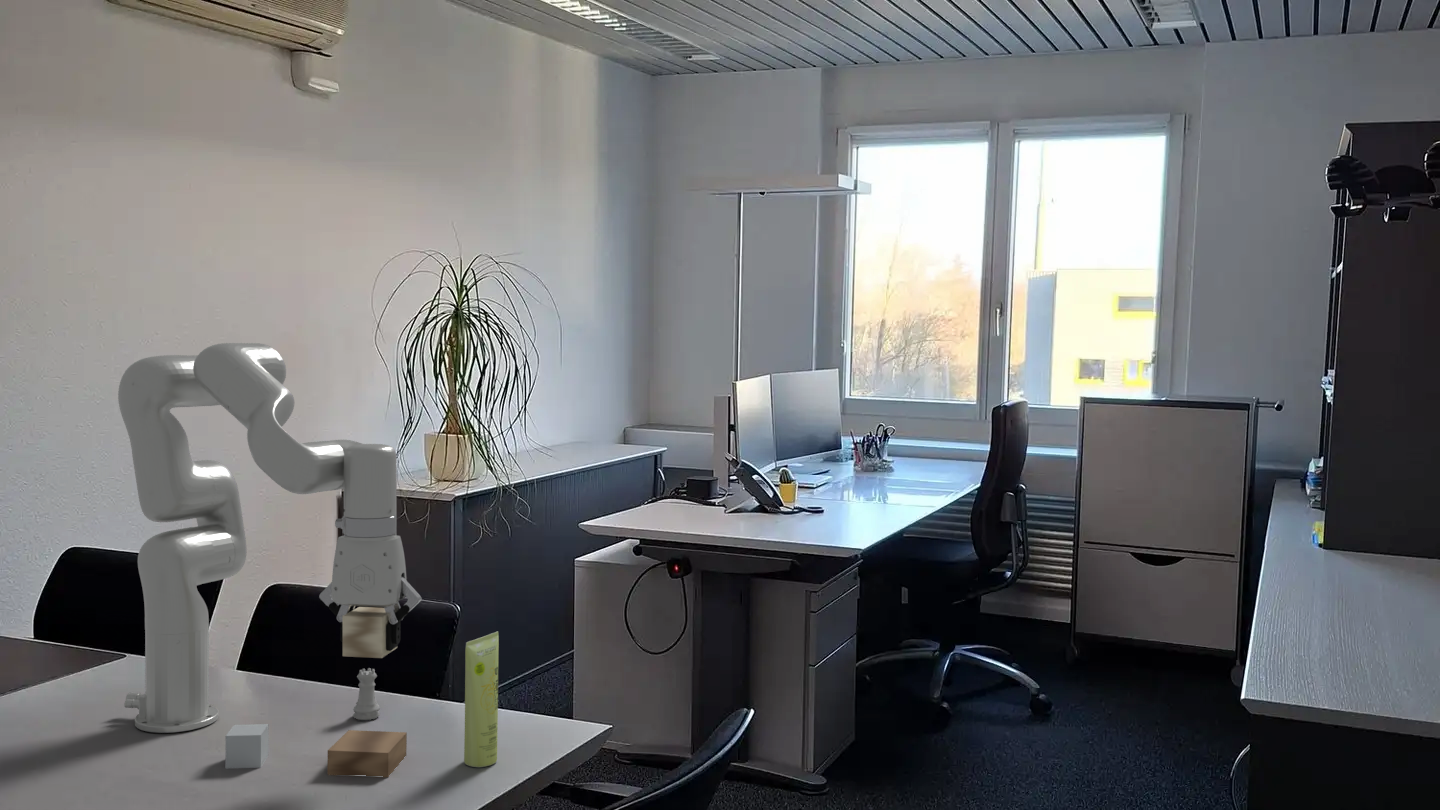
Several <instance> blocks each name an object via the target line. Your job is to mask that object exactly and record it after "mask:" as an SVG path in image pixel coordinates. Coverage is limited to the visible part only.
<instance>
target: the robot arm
mask: <svg viewBox="0 0 1440 810" xmlns="http://www.w3.org/2000/svg"><path fill="white" fill-rule="evenodd" d="M286 376H287V367H286V362H285V360H284V359H283V357H282V355H281V354H280V353H279V351H278V350H276V349H275V348H273V347H272V346H270V345H268V344H265V343H256V342H255V343H253V342H251V343H250V342H247V343H245V342H244V343H242V342H237V343H236V342H226V343H225V342H224V343H216V344H213V345H210V346H208V347H206V348H204V349H203V350H202V351H201V352H199V354H198V355H195V354H194V355H181V354H180V355H179V354H174V355H173V354H167V355H156V356H155V355H154V356H149V357H144V358H141V359H139V360H137V361H135V362H134V363H132V364H130V365H129V366H128V367H127V368H126V369H125V371H124V373H123V374H122V376H121V379H120V381H119V385H118V393H117V395H118V397H117V399H118V407H119V411H120V415H121V417H122V420H123V423H124V426H125V429H126V431H127V435H128V438H129V442H130V448H131V455H132V456H131V457H132V462H133V463H132V464H133V468H134V475H135V481H136V489H137V495H138V501H139V502H138V503H139V505H140V509H141V512H142V514H143V515H144V517H145V518H146V519H148V520H149V521H152V522H155V523H173V522H179V521H187V520H193V519H194V520H195V519H196V522H197V523H196V524H197V526H191V527H185V528H177V529H172V530H168V531H163V532H160V533H158V534H155V535H153V536H152V537H150V538H149V539H147V540H146V541H145V542H143V544H142V545H141V547H140V549H139V551H138V555H137V568H138V574H139V578H140V583H141V587H142V594H143V595H142V596H143V602H144V603H143V604H144V630H145V631H144V633H145V635H144V636H145V637H144V639H145V644H144V646H145V647H144V648H145V649H144V650H145V651H144V655H145V656H144V657H145V659H144V662H145V665H144V666H145V668H144V669H145V670H144V673H145V675H144V677H145V679H144V683H145V684H144V685H145V686H144V689H145V691H144V693H141V692H133V691H132V692H128V693H127V694H126V696H125V700H124V708H128V709H137V710H138V714H137V715H136V716H135V717H134V726H135V727H136V728H137V729H139V730H141V731H143V732H144V731H145V732H148V733H156V734H158V733H159V734H161V733H162V734H163V733H164V734H165V733H166V734H167V733H168V734H169V733H180V732H188V731H192V730H197V729H200V728H203V727H204V728H205V727H206V726H210V725H211V724H213V723H215V722H216V721H217V720H218V719H219V717H220V711H219V708H218V707H216V706H214V704H213V705H212V704H210V698H209V697H210V695H209V694H210V693H209V691H210V689H209V688H210V686H209V684H210V683H209V682H210V681H209V680H210V678H209V677H210V674H209V672H210V669H209V668H210V665H209V664H210V662H209V661H210V657H209V656H210V654H209V653H210V650H209V649H210V646H209V645H210V636H209V635H210V632H209V629H210V622H209V621H210V618H209V609H208V606H207V604H206V602H205V600H204V598H203V597H202V595H201V594H200V592H199V591H198V588H197V586H200V585H202V584H208V583H211V582H212V583H213V582H217V581H221V580H225V579H229V578H231V577H233V576H235V575H237V574H238V573H239V572H240V571H241V570H242V569H243V567H244V565H245V563H246V560H247V550H248V549H247V540H246V538H247V537H246V532H245V526H244V517H243V511H242V505H241V498H240V492H239V488H238V484H237V481H236V478H235V477H234V475H233V473H232V472H231V471H230V469H229V468H228V467H227V465H225V464H223V463H222V462H219V461H216V460H212V459H210V460H209V459H205V460H203V459H202V460H192V456H191V452H190V446H189V439H188V436H187V433H186V431H185V429H184V427H183V425H182V424H181V422H180V421H179V420H178V418H177V417H176V416H175V415H174V414H172V413H171V409H175V408H191V407H192V408H196V407H197V408H198V407H215V406H221V407H222V408H224V409H225V410H226V411H227V412H228V413H229V414H231V415H232V417H234V418H235V419H236V420H237V422H239V423H240V424H241V425H243V426H244V427H245V428H246V430H247V432H246V436H247V437H246V439H247V445H248V450H249V451H250V454H251V458H252V459H253V461H254V463H255V464H256V466H257V467H258V468H260V469H261V471H262V472H263V473H264V474H266V476H267V477H269V478H270V479H271V481H273V482H274V483H276V484H277V485H278V486H280V487H281V488H282V489H284V490H286V491H288V492H290V493H292V494H297V495H309V494H311V495H312V494H318V493H322V492H328V491H338V490H339V491H340V490H343V515H342V517H341V518H336V519H335V523H334V526H335V528H336V529H338V528H339V529H341V530H342V534H343V535H341V536H338V538H337V541H336V546H335V550H334V551H335V552H334V558H333V566H332V576H331V582H330V583H329V584H327V586H325V588H324V590H322V591H321V592H320V594H319V597H318V598H319V599H320V601H322V602H323V603H324V604H325V606H327V607H328V609H329V611H330V612H331V613H332V614H333V615H334V616H335V617H336V620H337V621H338V622H339V623H340V624H339V630H340V631H339V640H340V642H342V644H341V646H342V647H341V648H342V649H343V615H345V614H347V613H349V612H351V611H352V610H354V609H356V607H375V608H384V609H385V611H386V614H387V617H388V619H389V623H388V624H387V625H386V650H387V651H391V650H393V649H394V648H396V647H397V648H398V645H399V644H400V642H401V621H403V619H404V618H405V617H406V616H407V615H408V614H409V613H410V612H412V610H413V609H414V608H415V607H416V606H417V605H418V604H419V603H420V602H421V601H422V599H423V598H422V596H421V595H420V594H419V593H418V591H417V590H416V589H415V588H414V587H413V586H412V585H411V584H410V582H409V581H408V580H407V567H406V558H405V552H404V547H403V542H402V538H401V535H397V473H398V472H397V470H398V469H397V464H398V463H397V452H396V450H395V448H394V447H392V446H391V445H390V444H383V443H382V444H381V443H361V442H359V441H355V440H350V439H332V440H321V441H310V442H301V441H300V442H299V441H298V440H297V439H296V438H295V437H293V436H292V435H291V434H290V433H289V432H287V431H286V430H285V429H284V428H283V426H284V425H285V424H286V423H287V421H288V420H289V419H290V417H291V416H292V414H293V412H294V408H295V398H294V395H293V393H292V392H291V391H290V390H289V388H287V387H286V386H284V383H285V380H286V378H287V377H286ZM405 598H406V599H407V601H406V602H405V603H404V604H403V605H402V606H401V605H400V602H399V601H402V600H404V599H405ZM397 648H396V649H397ZM393 651H394V650H393Z"/></svg>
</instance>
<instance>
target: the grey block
mask: <svg viewBox="0 0 1440 810" xmlns="http://www.w3.org/2000/svg"><path fill="white" fill-rule="evenodd" d="M268 758H269V723H260V724H259V723H256V724H255V723H253V724H252V723H251V724H250V723H249V724H234V725H232V727H231V728H230V730H228V732H227V733H226V734H225V770H226V769H227V770H228V769H254V768H255V769H256V768H257V769H259V768H260V769H261V768H262V766H263V765H264V763H265V762H266V760H267V759H268Z"/></svg>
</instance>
